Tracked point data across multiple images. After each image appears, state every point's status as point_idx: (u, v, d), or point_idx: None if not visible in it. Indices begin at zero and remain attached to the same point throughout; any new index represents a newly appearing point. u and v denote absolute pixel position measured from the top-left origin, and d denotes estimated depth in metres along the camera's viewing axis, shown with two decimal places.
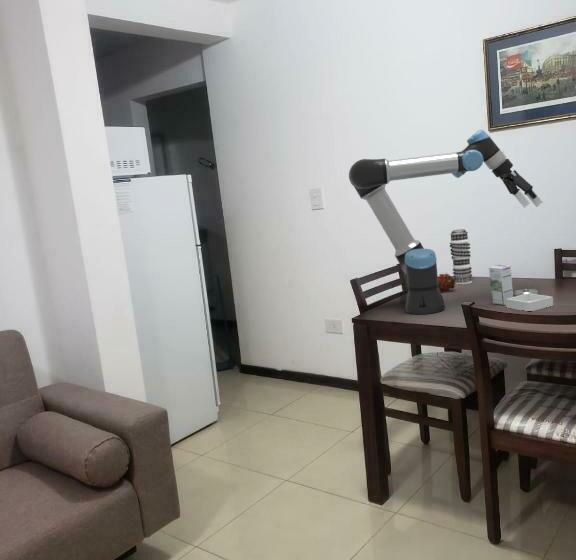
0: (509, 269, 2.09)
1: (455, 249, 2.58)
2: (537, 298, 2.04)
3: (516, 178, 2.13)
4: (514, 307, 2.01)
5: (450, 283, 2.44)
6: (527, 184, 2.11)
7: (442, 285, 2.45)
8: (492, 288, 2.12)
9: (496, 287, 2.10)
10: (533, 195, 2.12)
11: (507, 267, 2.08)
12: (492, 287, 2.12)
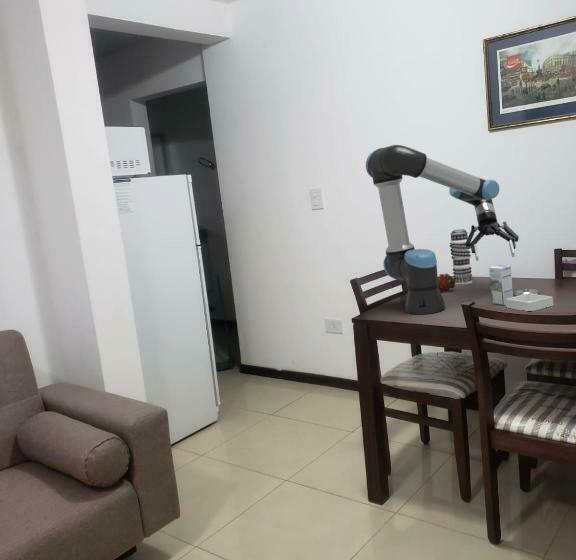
0: (509, 269, 2.09)
1: (455, 249, 2.58)
2: (537, 298, 2.04)
3: None
4: (514, 307, 2.01)
5: (450, 283, 2.44)
6: None
7: (442, 285, 2.45)
8: (492, 288, 2.12)
9: (496, 287, 2.10)
10: None
11: (507, 267, 2.08)
12: (492, 287, 2.12)
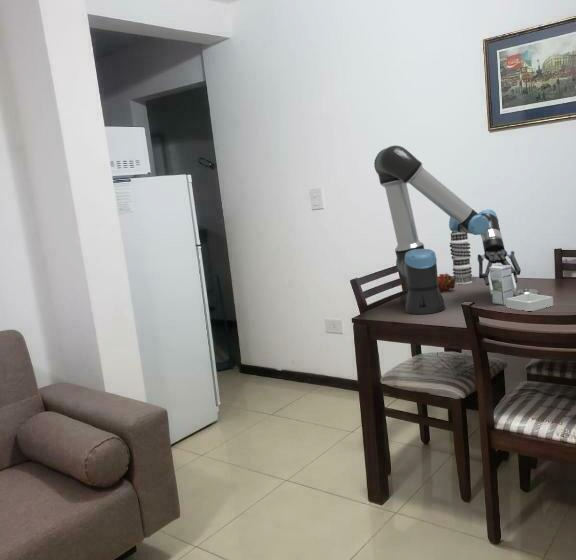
0: (509, 269, 2.09)
1: (455, 249, 2.58)
2: (537, 298, 2.04)
3: None
4: (514, 307, 2.01)
5: (450, 283, 2.44)
6: None
7: (442, 285, 2.45)
8: None
9: (496, 287, 2.10)
10: None
11: (507, 267, 2.08)
12: None
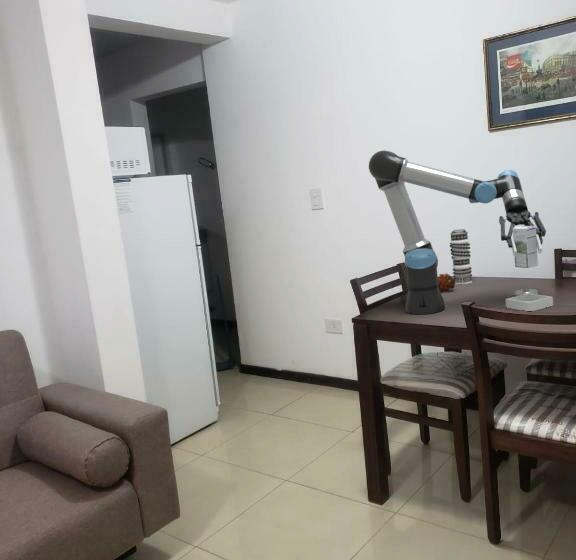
0: (534, 230, 1.96)
1: (455, 249, 2.58)
2: (537, 298, 2.04)
3: None
4: (514, 307, 2.01)
5: (450, 283, 2.44)
6: None
7: (442, 285, 2.45)
8: None
9: (519, 249, 1.97)
10: None
11: (532, 227, 1.96)
12: None
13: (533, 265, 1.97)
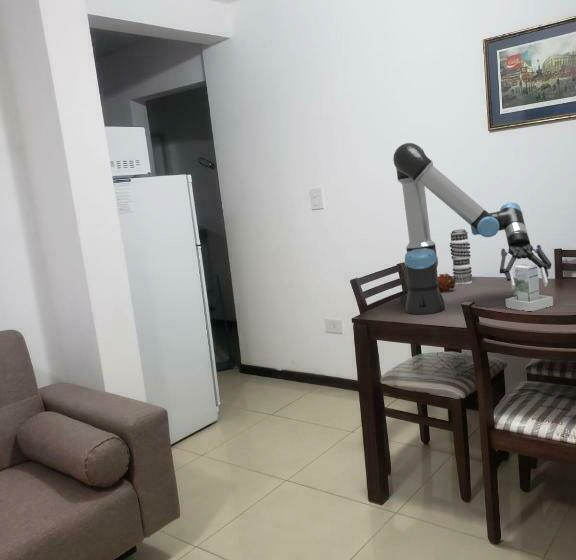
0: (536, 269, 1.98)
1: (455, 249, 2.58)
2: None
3: None
4: (514, 307, 2.01)
5: (450, 283, 2.44)
6: None
7: (442, 285, 2.46)
8: (517, 289, 2.01)
9: (521, 288, 2.00)
10: None
11: (534, 267, 1.98)
12: (517, 288, 2.01)
13: None
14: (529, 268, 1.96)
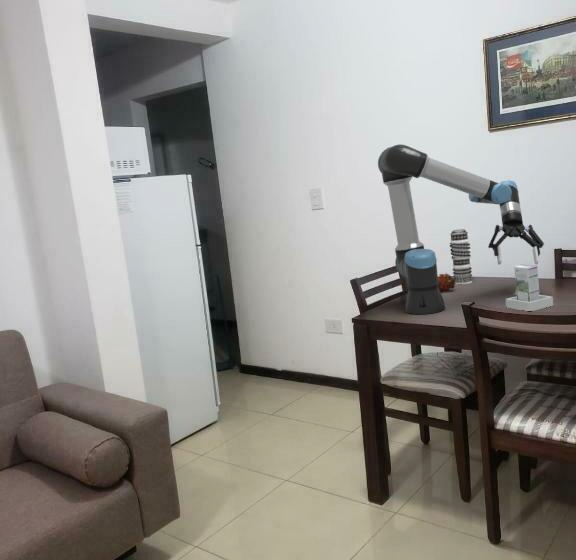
0: (536, 269, 1.98)
1: (455, 249, 2.58)
2: None
3: None
4: (514, 307, 2.01)
5: (450, 283, 2.44)
6: None
7: (442, 285, 2.46)
8: (517, 289, 2.01)
9: (521, 288, 2.00)
10: None
11: (534, 266, 1.98)
12: (517, 288, 2.01)
13: None
14: (529, 268, 1.96)
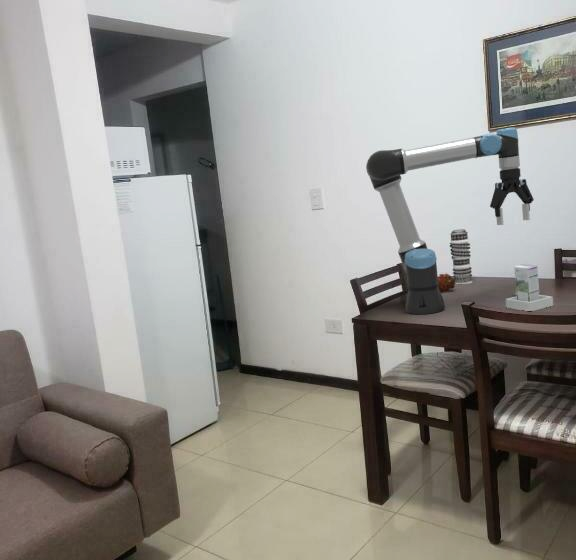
0: (536, 269, 1.98)
1: (455, 249, 2.58)
2: None
3: None
4: (514, 307, 2.01)
5: (450, 283, 2.44)
6: None
7: (442, 285, 2.46)
8: (517, 289, 2.01)
9: (521, 288, 2.00)
10: None
11: (534, 266, 1.98)
12: (517, 288, 2.01)
13: None
14: (529, 268, 1.96)
